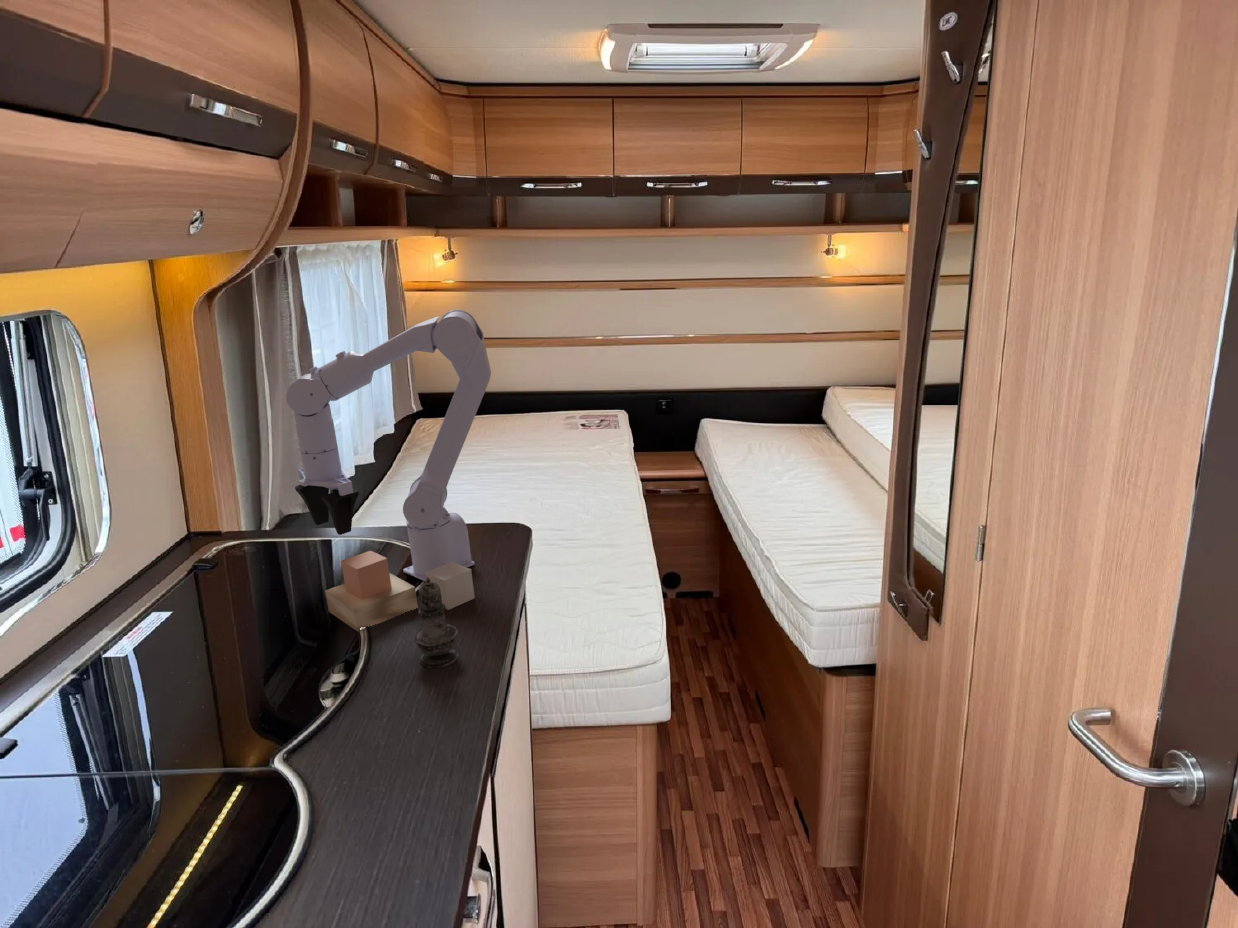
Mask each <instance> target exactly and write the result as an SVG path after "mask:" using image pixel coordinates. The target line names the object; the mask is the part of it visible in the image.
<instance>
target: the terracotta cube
mask: <svg viewBox="0 0 1238 928" xmlns="http://www.w3.org/2000/svg"><path fill="white" fill-rule="evenodd" d="M340 563H341V568H342V569H341V570H342V574H343V581H344V584H345V587H346V591H347V592H349V593H351V594H353V595H354V596H356V597H358V598H360V599H361V600H363V599H366V598H368V597H371V596H373V595H376V594H379V593H381V592H384V591H386V590H389V589H391V588H392V587H391V580H390V574H389V573H390V569H389V563H388V557H385V556H384V555H381V554H380V553H376V552H375V551H372V550H368V551H365V552H363V553H360V554H357V555H354V556H351V557H348V558H345V559H342V560H341V561H340Z"/></svg>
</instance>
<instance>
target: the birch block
mask: <svg viewBox="0 0 1238 928" xmlns="http://www.w3.org/2000/svg"><path fill="white" fill-rule="evenodd" d="M389 574H390V580H391V587H392V588H391V589H389V590H386V591H384V592H381V593H379V594H376V595H373V596H371V597H368V598H366V599H363V600H361V599H360V598H358V597H356V596H354V595H353V594H351V593H349V592H347V591H346V587H345V583H343V584H340V585H337V586H334V587H331V588H329V589H326V590H324V593H325V597H326V604H327V608H328V613H330V614H332V615H333V616H335V617H336V618H338V619H339V620H340V621H342V622H343V623H344V624H346V625H348V626H349V627H350V628H352V629H353V630H355V631H356V632H361V631H360V628H361V627H366V626H368V627H369V626H371V627H374V626H376V625H378V624H381V623H383V622H385V621H389V620H392V619H395V618H396V617H395V616H397V617H399V616H401V614H402V615H404V614H406V613H405V612H407V611H409V612H411V611H410V610H412V611H414V609H415V610H417V609H419V605H418V600H417V593H416V587H415V586H414V585H413V584H411V583H409V582H407V581H405V580H403V579H402V578H399V577H398V576H396V575H394V574H393V573H391V572H389ZM416 608H417V609H416ZM403 613H404V614H403ZM407 613H408V612H407ZM398 615H399V616H398ZM388 619H389V620H388ZM375 624H376V625H375ZM373 625H374V626H373ZM369 628H370V627H369Z"/></svg>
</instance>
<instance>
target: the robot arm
mask: <svg viewBox="0 0 1238 928" xmlns="http://www.w3.org/2000/svg"><path fill="white" fill-rule="evenodd" d="M440 317H441V316H440V315H439V316H436V317H432V318H429V319H427V320H424V321H422V322H419V323H417V324H415V325H413V326H412V327H409V328H408V329H406V330H405V331H402V332H401V333H399V334H397V335H396V336H393V337H391V338H390V339H388V340H387V341H385V342H383V343H381V344H379V345H378V346H376V347H374V348H372V349H371V350H369V351H367V352H365V353H362V352H359V351H355V350H351V351H348V352H346V351H345V350H342V351H339V353H336V354H335V359H332V361H329V362H328V363H326V364H324V365H322V366H320V367H317V366H314V367H312V368H309V373H306V374H303V375H302V376H300V377H299V378H297V379H296V380H294V382H292V383H291V384H290V385H289V387H288V388H287V391H286V394H285V396H286V397H285V399H286V403H287V405H288V407H289V408H290V409H291V410H292V411H293V413H294V420H295V427H296V428H295V429H296V433H297V438H298V440H297V441H298V445H299V451H300V456H301V461H302V466H303V468H299V469H297V473H298V478H299V480H298V485H296V486H294V489H295V491H296V492H297V493H298V495H299V496H300V497H301V499H302V500H303V502H304V503H305V505H306V508H307V509H308V511H309V514H310V516H311V519H312V520H313V522H314V524H315V525H316V526H320V525H324V524H326V523H329V520H330V517H331V519H332V523H333V526H334V529H335V531H336V534H337V535H339V536H341V535H345V534H347V533H351V532H352V527H353V514H354V510H355V509H354V508H355V506H356V502H357V499H358V497H359V495H360V492H359V490H358V489H357V488H353V483H352V481H351V480H350V479H348V478H347V475H346V474H345V473H344V471H343V469H342V464H341V458H340V453H339V448H338V441H337V436H336V429H335V424H334V418H333V416H332V411H331V410H332V409H331V404H330V402H336V401H338V400H340V399H342V398H344V397H346V396H348V395H350V394H351V393H353V392H355V391H358V390H360V389H362V388H363V387H365V386H367V385H369V384H371V382H372V380H373V377H374V372H375V371H377V370H380V369H382V368H384V367H387V366H388V365H391V364H392V363H394V362H396V361H398V360H400V359H402V358H405V357H406V356H407V357H408V356H409V355H411V354H414V353H415V352H424V353H429V354H434V353H435V351H436V350H438V351H439V352H440V353H441V354H442V355H443V357H445V358H446V359H447V360H448V361H449V362H451V364H452V367H453V368H454V371H455V372H456V374H457V376H458V378H459V381H458V383H457V385H456V388H455V391H454V393H453V395H452V398H451V401H450V402H449V403H450V404H449V406H448V408H447V411H446V413H445V415H444V418H443V421H442V423H441V425H440V428H439V431H438V433H437V434H436V435H437V436H436V438H435V441H434V443H433V445H432V448H431V451H430V453H429V456H428V458H427V461H426V463H425V466H424V468H423V471H422V473H421V474H420V476H418V477H417V478H416V479H415V480H414V481H413V482H412V484H411V485H410V488H409V493H408V495H407V497H406V498H405V499H404V502H403V505H402V513H403V517H404V518H405V521H406V528H407V537H408V542H409V548H410V555H411V562H412V565H410V566H407V567H405V568H403V570H402V571H403V573H404V574H408V575H410V576H412V577H414V578H416V579H419V580H421V581H423V582H425V583H427V582H426V581H425V580H426V579H427V578H426V572H428V571H431V570H433V569H436V568H438V567H441V566H443V565H446V564H448V563H451V562H454V563H456V564H459V565H461V566H464V567H466V568H469V567H471V566H474V565H475V561H473V560H472V554H471V545H470V538H469V532H468V531H469V530H468V527H467V525H466V522H465V520H464V518H463V517H462V516H461V515H460V514H459V513H457V512H449V511H448V510H447V509H446V508H445V503H446V500H447V498H448V489H447V488H448V487H447V486H448V485H449V481H450V479H451V476H452V474H453V471H454V469H455V466H456V464H457V461H458V459H459V456H460V454H461V452H462V449H463V447H464V445H465V441H466V439H467V438H468V437H467V436H468V434H469V432H470V430H471V427H472V424H473V422H474V420H475V417H476V415H477V412H478V409H479V407H480V405H481V402H482V399H483V397H484V396H485V392H486V390H487V387H488V386H489V382H490V381H491V375H492V370H491V365H490V361H489V357H488V352H487V348H486V343H485V337H484V332H483V330H482V328H480V325H479V323H478V322H477V320H476V319H475V318H474V316H473V315H472V314H471V313H469V312H467V311H465V310H462V309H453V310H450V311H448V312H446V313H445V314H444V315H443V316H442V317H441V319H440V320H439V318H440ZM438 320H439V321H438ZM330 490H331V493H330Z"/></svg>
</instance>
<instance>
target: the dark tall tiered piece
mask: <svg viewBox="0 0 1238 928" xmlns="http://www.w3.org/2000/svg"><path fill="white" fill-rule="evenodd" d="M425 581H426V582H425ZM425 581H424V582H425V583H423V584H422V585H421V586H419V588H418V596H419V598H418V599H419V602H420V608H418V614H419V615H420V616H421V621H422V629H420V630H418V631H417V632H416V633H415V634H414V635H413V641H414V643H415V644H416V646H417V648H418V649H419V650H420V652H421V653H423V654H422V655H421V656H420V658H419V664H420V666H422V667H424V668H427V669H440V668H444V667H447V666H449V665H452V664H453V663H455V662H456V661H457V660H458V658H459V657H460V655H459V651H458V650H456V648H455V649H454V647H455V644H456V642H457V636H458V633H459V632H458V628H456V626H455V625H451V624H448V623H447V622H446V615H445V610H447V609H446V606H445V605H444V604H442V598H441V591H440V587H439V585H438V584H436V583H433V582H430V579H429V578H428V577H427V579H426V580H425Z"/></svg>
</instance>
